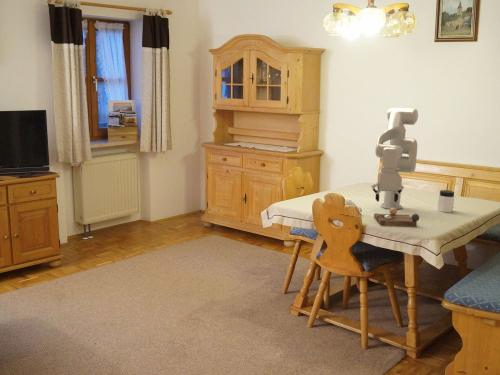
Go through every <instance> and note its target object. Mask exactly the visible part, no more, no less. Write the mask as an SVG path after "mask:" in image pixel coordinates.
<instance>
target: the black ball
mask: <svg viewBox="0 0 500 375" xmlns="http://www.w3.org/2000/svg"><path fill="white" fill-rule="evenodd" d="M411 217H412V220H413V221H416V222H418V221H419V220H420V216H419V214H417V213H413V214H412V215H411Z"/></svg>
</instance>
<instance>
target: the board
mask: <svg viewBox="0 0 500 375" xmlns="http://www.w3.org/2000/svg"><path fill="white" fill-rule="evenodd" d="M373 215H374V216H373V219H374V218H375V219H376V220H375V219H374V220H375V221H376V222H377V223H378V224H379V225H380V226H389V227H390V226H391V227H415V228H417V224H418V221H413V220H412V216H411V215H410V214H398V213H396V214H395V215H391V214H390V213H374V214H373ZM385 215H390V216H391V219H386V218H384V216H385Z"/></svg>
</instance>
